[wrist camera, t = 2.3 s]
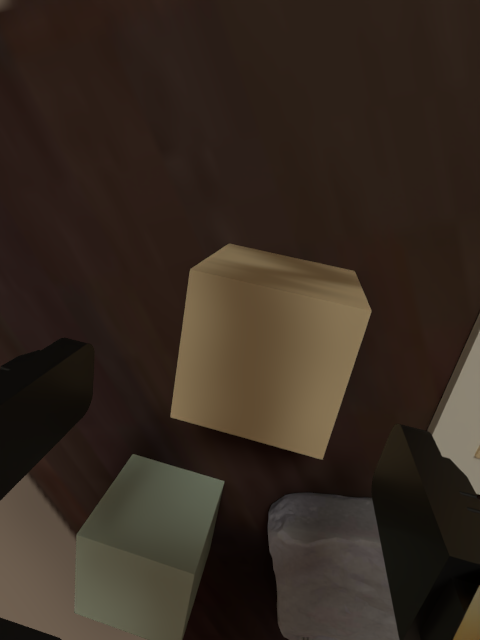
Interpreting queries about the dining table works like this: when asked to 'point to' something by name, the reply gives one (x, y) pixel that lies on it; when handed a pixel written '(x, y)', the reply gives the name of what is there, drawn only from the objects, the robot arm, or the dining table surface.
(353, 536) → the stone block
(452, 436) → the card
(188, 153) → the dining table surface
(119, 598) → the sage green cube
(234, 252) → the maple cube
